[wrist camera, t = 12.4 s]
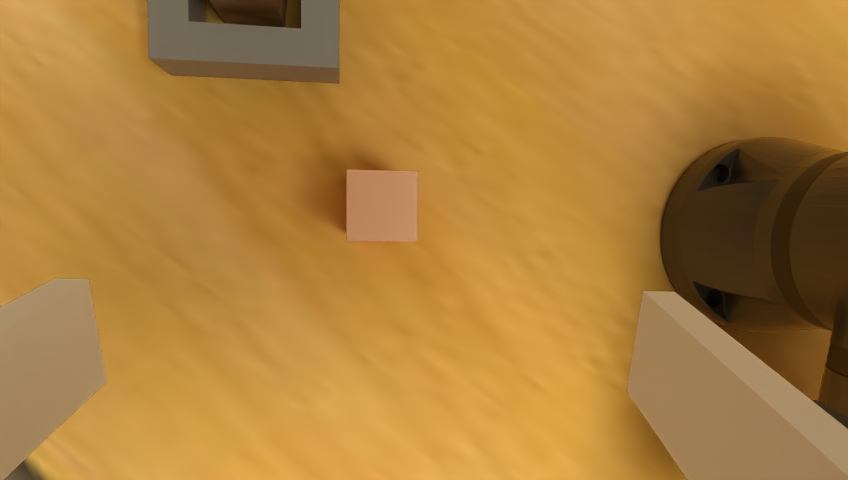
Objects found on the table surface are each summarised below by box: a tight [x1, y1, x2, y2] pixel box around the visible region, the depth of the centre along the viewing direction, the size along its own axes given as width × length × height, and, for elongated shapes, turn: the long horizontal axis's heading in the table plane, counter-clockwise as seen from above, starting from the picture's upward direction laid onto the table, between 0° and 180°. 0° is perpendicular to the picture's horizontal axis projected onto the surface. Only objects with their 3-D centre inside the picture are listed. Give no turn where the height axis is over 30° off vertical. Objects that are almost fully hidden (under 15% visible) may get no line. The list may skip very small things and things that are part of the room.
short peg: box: [346, 170, 418, 241], centre depth 33 cm, size 4×4×8 cm
